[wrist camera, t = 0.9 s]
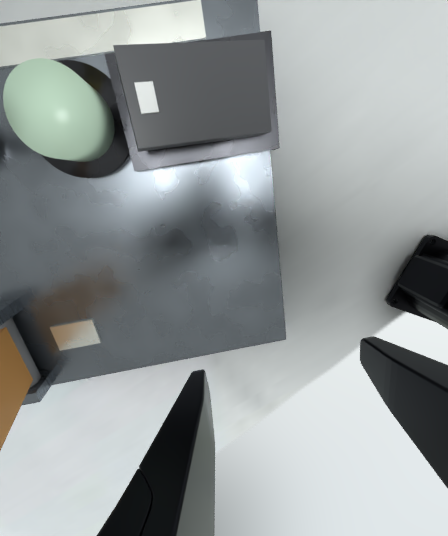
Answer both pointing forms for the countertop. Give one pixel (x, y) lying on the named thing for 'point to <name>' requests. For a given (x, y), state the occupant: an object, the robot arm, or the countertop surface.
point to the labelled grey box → (194, 91)
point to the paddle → (13, 375)
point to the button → (57, 111)
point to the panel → (136, 214)
